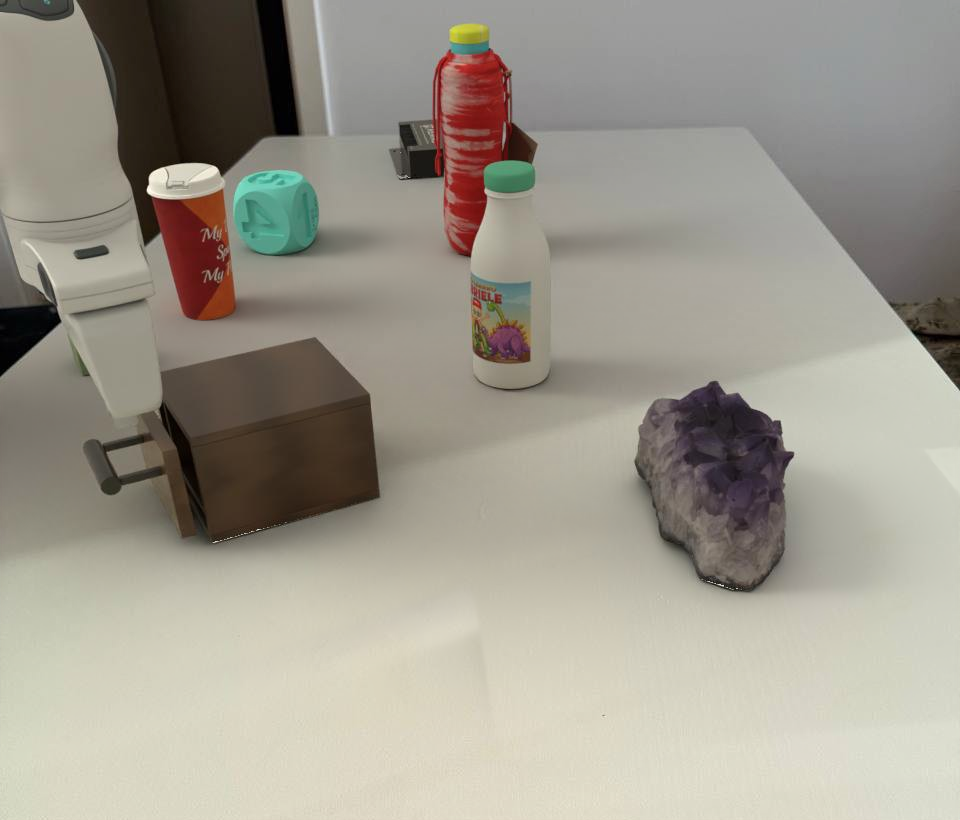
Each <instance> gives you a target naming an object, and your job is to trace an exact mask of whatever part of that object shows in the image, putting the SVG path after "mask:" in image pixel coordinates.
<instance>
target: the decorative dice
mask: <svg viewBox="0 0 960 820" xmlns="http://www.w3.org/2000/svg"><path fill="white" fill-rule="evenodd" d="M317 196H318V195H317V193H316V191H315V189H314V187H313V186H312V184H311V182H310V181H309V180H308V179H307V178H306V177H305V176H303V174H301V173H300V172H297V171H293V170H286V169H285V170H283V169H274V170H265V171H258V172H255V173H254V172H253V173H251V174H249V175H246V176H245V177H243V178H242V179H241V181H240V182H239V184H238V185H237V187H236V189H235V193H234V196H233V205H232V212H233V221H234V225H235V229H236V231H237V234H238V235H239V238H241V240H242V241H243V242H244V244H245V245H246V246H248V247H249V248H250V249H251V250H252V251H254V252H256V253H258V254H262V255H270V256H277V255H278V256H279V255H288V254H293V253H297V252H301V251H304V250H306V249H307V248H308V247H309V246H310V245H311V244H312V243H313V241H314V239H315V238H316V234H317V232H318V227H319V220H320V207H319V206H320V205H319V199H318V197H317Z"/></svg>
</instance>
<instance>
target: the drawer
mask: <svg viewBox="0 0 960 820" xmlns="http://www.w3.org/2000/svg"><path fill="white" fill-rule="evenodd" d="M162 402H163V407H164V411H165V416H166V420H167V425H168V429H169V433H170V436H169V434H168V432H167V431H166V429H165V428H164V426H163V424H162V423H161V421H160V417H159V416H158V414H157V412H156V410H154V411H150V412H146V413H143V414H139V415H137V416H138V424H137V425H136V426H135V430H136V433H137V434H135V435H131V436H127V437H123V438H122V437H121V438H118V439H115V440H110V441H105V442H101V441H100V440H99V439H97V438H90V439H88V440H86V441H85V442H84V443H83V445H82V452H83V454H84V456H85V458H86V461H87V463H88V465H89V467H90V469H91V471H92V474H93V476H94V478H95V479H96V482H97V484H98V486H99V489H100V490H101V492H102V493H103V494H105V495H107V496H115V495H117V494H119V492H121V490H122V487H123V486H127V485H131V484H134V483H138V482H142V481H146V480H150V482H151V484H152V486H153V487H154V490H155V491H156V493H157V495H158V497H159V499H160V501H161V502H162V504H163V506H164V508H165V509H166V512H167V513H168V515H169V517H170V519H171V521H172V523H173V525H174V526H175V528H176V530H177V532H178V534H179V536H180V538H181V539H185V538H188V537H192V536H196V535H197V531H196V527H195V521H194V517H193V512H192V507H191V505H190V503H189V499H188V494H187V490H186V485H185V482H186V484H187V486H188V487H189V489H190V491H191V492H192V494H193V496H194V497H195V499H196V501H197V503H198V504H199V506H200V508H201V509H202V511H203V513H204V515H205V512H204V508H203V503H202V498H201V494H200V489H199V484H198V480H197V475H196V470H195V466H194V461H193V456H192V452H191V447H190V443H189V441H188V439H187V438H186V436H185V435H184V433H183V431H182V430H181V428H180V427H179V425H178V423H177V422H176V420H175V419H174V417H173V416H172V414H171V412H170V411H169V409H168V408H167V406H166V404H165V403H164V401H163V400H162ZM136 445H137V446H138V445H140V450H141V454H142V458H143V462H144V465H145V469H142V470H137V471H134V472H129V473H125V474H122V475H118V473H117V470H116V469H115V467H114V465H113V463H112V461H111V459H110V456H109V455H108V453H109V452H113V451H116V450H117V451H118V450H121V449H124V448H129V447H133V446H136ZM184 480H185V481H184Z"/></svg>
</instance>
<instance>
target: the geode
mask: <svg viewBox="0 0 960 820" xmlns="http://www.w3.org/2000/svg"><path fill="white" fill-rule="evenodd" d="M637 432H638V436H639V437H638V443H637V452H636V455H635V458H634V460H633V463H634V466H635V469H636V472H637V475H638V476H639V478H641V479H642V480H643V481H644V482H645V484H646V485H647V486H648V488H649V489H650V491H651V501H652V502H651V503H652V504H651V505H652V507H653V509H654V510H655V516H656V518H657V521H658V531H659V535H660V537H661V538H663V539H664V540H666V541H669V542H671V543H674V544H678V545H681V546H683V548H684V549H685V550H686V551H687V553H688V554H689V555H690V556H691V557H692V561H693V566H694V569H695V572H696V574H697V576H698V577H699V579H700V580H701V579H703V580H706V581H710V582H713V583H716V584H721V585H724V587H728V588H731V589H736V588H738V589H742V590H741V591H743V590H749V591H751V590H750V589H752V590H754V589H756V588H757V587H758V586H760V585H761V584H763V582H765V580H766V579H767V577H769V576H770V574H771V573H772V572H773V569H774V568H775V567H776V566H777V565H778V563H779V562H780V560H781V559H782V556H783V554H784V552H785V549H786V543H785V541H786V533H785V529H786V527H787V512H786V498H785V493H784V490H785V488H786V483H785V482H784V480H785V475H786V470H787V468H788V466H789V465H790V462H791V461H792V460H793V459H794V457H795V451H791V450H789V451H788V450H787V449H786V447H785V445H784V438H783V436H782V435H783V434H784V431H783V427H782V421H781V420H780V419H774V420H773V419H772V418H771V417H770V416H769V415H768V414H767V413H765V412H763V411H762V410H759V409H756V408H752V407H751V406H750V405H749V403H747V401H746V400H745V399H744V398H743V397H742V395H741V394H740V393H739V392H734V393H726V392H725V391H724V389H723V387H722V386H721V385H720V383H719V381H718V380H710V381H709V382H708V384H706V385H704V386H702V387H699V388H696V389H693V390H692V391H690V392H689V393H688V394H686V395H685V396H683V397H681V398H679V399H677V398H676V399H675V398H668V397H667V398H666V397H665V398H664V397H662V398H661V397H660V398H657V399H655V400H654V401H652V403H651V405H650V406H649V408H648V409H647V410H646V413H645V415H644V417H643V419H642V423H641V424H639V425H638V426H637ZM770 572H771V573H770ZM769 573H770V574H769ZM703 580H702V581H703ZM756 586H757V587H756ZM755 587H756V588H755Z"/></svg>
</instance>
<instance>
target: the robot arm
mask: <svg viewBox="0 0 960 820" xmlns="http://www.w3.org/2000/svg"><path fill="white" fill-rule="evenodd" d="M117 96H118V95H117V81H116V75H115V71H114V67H113V64H112V62H111V59H110V56H109V54H108V51H107V50H106V49H105V46H104V44H103V43H102V42H101V40H100V39H99V37H98V36H97V34H96V33H95V32H94V30H92V28H91V26H90V24H89V22H88V20H87V18H86V16H85V14H84V11H83V10H82V8H81V6H80V4H79V2H78V0H0V212H1V215H2V218H3V221H4V222H3V223H4V225H5V228H6V233H7V235H8V238H9V239H8V240H9V242H10V245H11V249H12V252H13V256H14V259H15V263H16V266H17V270H18V272H19V276H20V278H21V279H22V280H23V282H25V283H26V284H28V285H30V286H32V287H35V288H36V289H37V290H38V291H39V292H41V293H42V294H43V295H44V296H45V299H46V300H47V301H49V302H50V303H53V305H54V307H56V310H57V313H58V316H59V319H60V321H61V323H62V325H63V327H64V329H65V331H66V334H67V333H68V334H67V336H68V335H69V336H70V338H71V340H72V342H73V344H74V346H75V347H76V349H77V351H78V353H79V355H80V357H81V359H82V360H83V362H84V364H85V366H86V368H87V370H88V372H89V373H90V374H89V375H90V377H91V379H92V381H93V383H94V384H95V387H96V388H97V390H98V392H99V394H100V396H101V398H102V399H103V402H104V404H105V407H106V412H107V413H108V415H109V416H110V418H111V420H112V422H113V424H114V426H115V427H116V428H117V429H118V430H124V429H128V428H132V427H133V428H134V427H136V425H137V424H138V416H137V415H139V414H143V413H146V412H150V411H156V410H158V409H159V408H160V406H161V403H162V395H163V392H162V380H161V373H160V372H161V367H160V359H159V352H158V346H157V339H156V334H155V327H154V322H153V316H152V312H151V307H150V304H149V301H148V298H152V297H154V296H155V295H156V288H155V284H154V283H155V282H154V279H153V278H154V277H153V275H152V271H151V268H150V264H149V262H148V257H147V251H146V247H145V242H144V237H143V233H142V229H141V224H140V220H139V216H138V215H139V214H138V211H137V206H136V202H135V198H134V193H133V188H132V185H131V183H130V181H129V179H128V177H127V175H126V173H125V171H124V169H123V166H122V164H121V161H120V156H119V149H118V141H119V140H118V139H119V125H118V120H117V115H116V108H117Z"/></svg>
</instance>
